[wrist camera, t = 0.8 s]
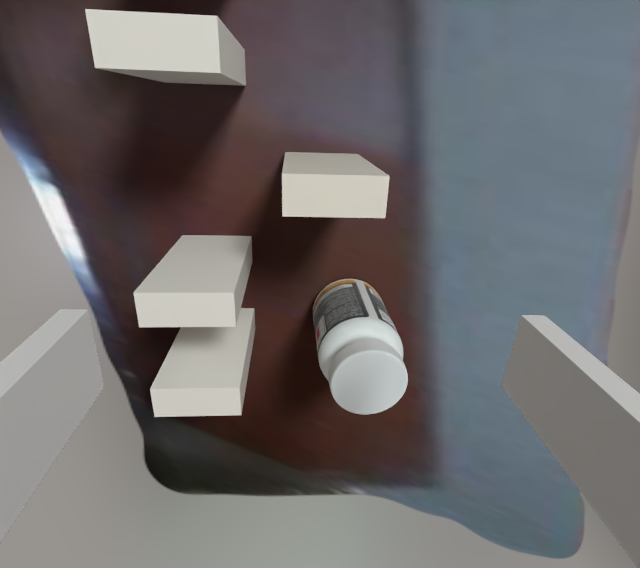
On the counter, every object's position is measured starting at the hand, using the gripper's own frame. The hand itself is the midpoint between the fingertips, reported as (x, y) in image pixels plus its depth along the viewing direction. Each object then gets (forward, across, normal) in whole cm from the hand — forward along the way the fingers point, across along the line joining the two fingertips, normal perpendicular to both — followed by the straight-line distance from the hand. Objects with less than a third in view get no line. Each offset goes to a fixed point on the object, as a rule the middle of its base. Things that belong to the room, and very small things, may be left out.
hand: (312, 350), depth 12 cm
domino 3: (+18, -6, -9) cm, 21 cm away
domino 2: (+18, -6, -3) cm, 20 cm away
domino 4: (+18, +1, +3) cm, 19 cm away
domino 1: (+18, -6, +9) cm, 21 cm away
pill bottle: (+18, +4, -8) cm, 21 cm away
